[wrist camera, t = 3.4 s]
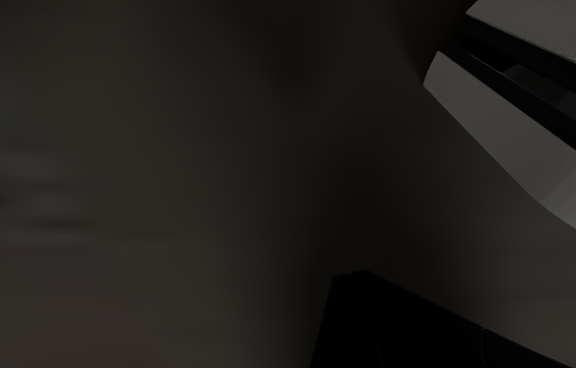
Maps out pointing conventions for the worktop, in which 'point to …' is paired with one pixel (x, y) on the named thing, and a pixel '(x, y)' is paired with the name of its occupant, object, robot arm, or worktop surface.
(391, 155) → the worktop surface
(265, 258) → the worktop surface
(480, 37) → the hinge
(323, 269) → the worktop surface
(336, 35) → the worktop surface
